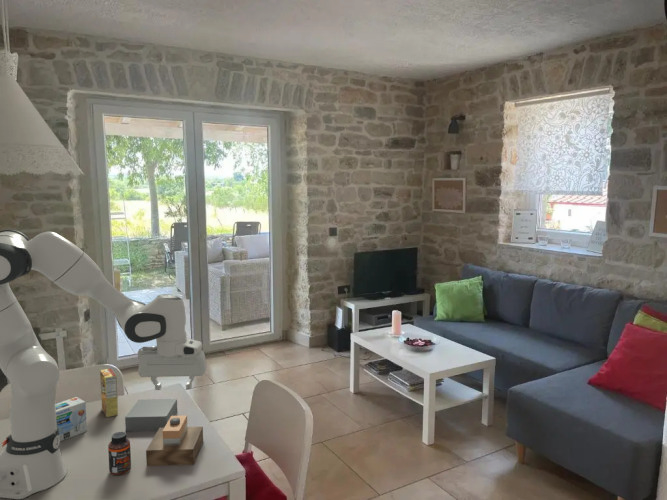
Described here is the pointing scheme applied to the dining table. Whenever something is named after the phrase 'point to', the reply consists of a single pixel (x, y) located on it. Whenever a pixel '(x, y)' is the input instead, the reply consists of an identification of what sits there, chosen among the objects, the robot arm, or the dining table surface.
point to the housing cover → (174, 427)
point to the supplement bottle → (119, 454)
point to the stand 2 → (175, 449)
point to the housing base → (175, 441)
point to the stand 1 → (150, 414)
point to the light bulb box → (71, 418)
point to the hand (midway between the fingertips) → (173, 389)
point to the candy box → (109, 392)
